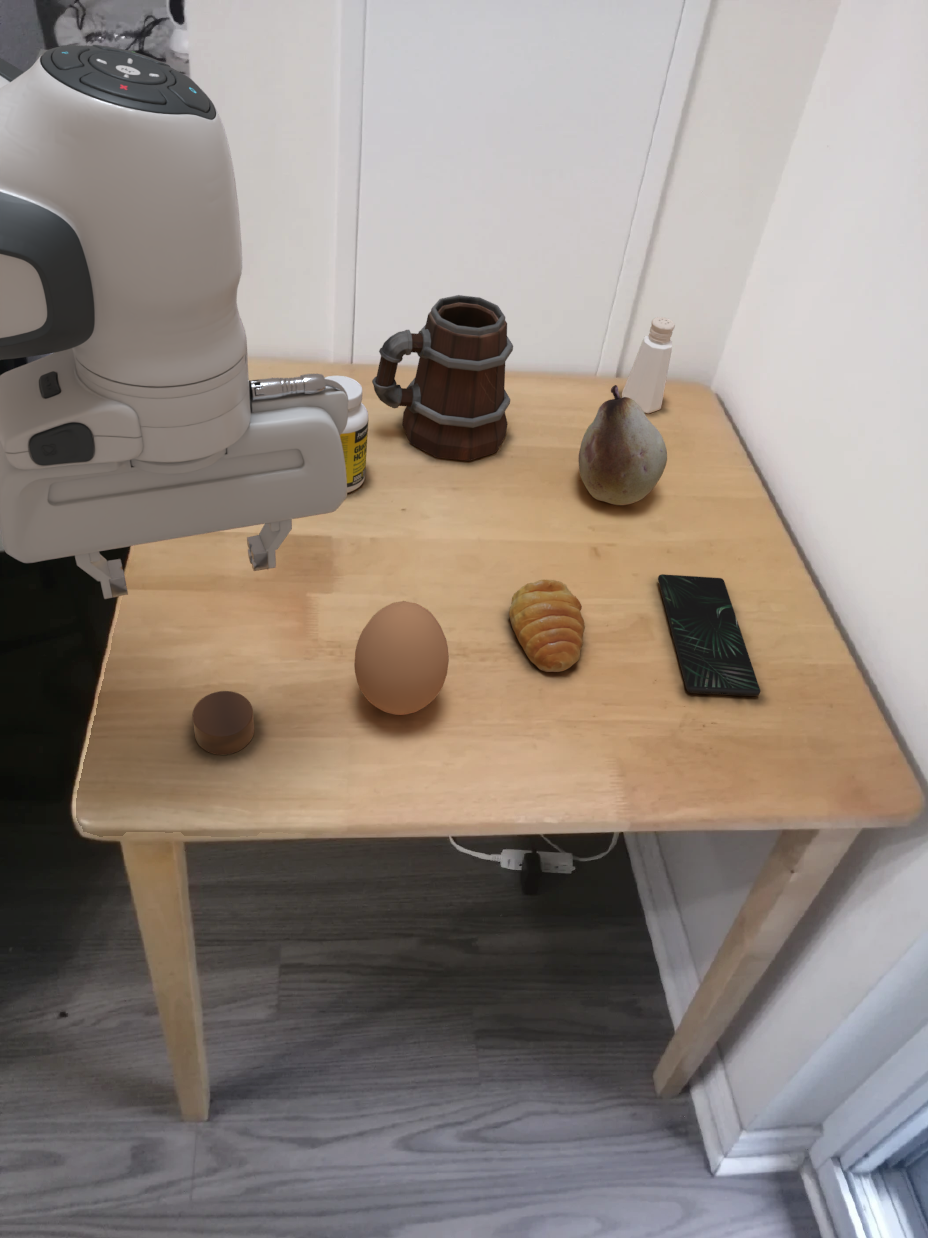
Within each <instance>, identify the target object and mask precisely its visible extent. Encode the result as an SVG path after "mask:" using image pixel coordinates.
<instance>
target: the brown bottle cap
mask: <svg viewBox="0 0 928 1238" xmlns="http://www.w3.org/2000/svg"><path fill="white" fill-rule="evenodd" d="M192 724H193V731H194V732H193V733H194V738H195V742H196V743H197V744H198V746H199V747H200V748H201V749H202V750H204V751H206V752H208V753H210V754H213V755H218V756H225V755H232V754H234V753H237V752H240V751H241V750H243V749H244V748H246V747H247V746H248V745H249V744H250V743H251V741H252V739H253V737H254V734H255V721H254V709H253V705H252V704H251V702H250V701H249V699H247V697H246V696H244V695H242V694H240V693H238V692H236V691H229V690H221V691H214V692H211V693H209V694H206V695H205V696H204V697H202V698H201V699H200V700H199V701H198V702H197V703H196V704H195V706H194V708H193V711H192Z"/></svg>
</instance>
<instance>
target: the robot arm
mask: <svg viewBox="0 0 928 1238" xmlns="http://www.w3.org/2000/svg"><path fill="white" fill-rule="evenodd" d="M231 153H232V152H231V149H230V143H229V141H228V136H227V132H226V129H225V126H224V123H223V121H222V118H221V116H220V113H218V110H217V108H216V106H215V104H214V103H213V101H212V100H211V98H210V96H208V95H207V94H206V93H205V91H204V90H203V89H202V88H201V87H200V86H199V85H198V84H197V83H196V82H195V81H194V80H193V79H192V78H190V77H189V76H187V75H186V74H183V73H182V72H180V71H178V70H177V69H175V68H173V67H171V65H169V64H167V63H165V62H163V61H161V60H158V59H156V58H154V57H150V56H148V55H144V54H142V53H138V52H136V51H133V50H129V49H128V50H127V49H124V48H119V47H115V46H108V45H98V44H92V45H84V44H83V45H77V44H68V45H63V46H57V47H53V48H50V49H48V50H46V51H45V52H43V53H42V54H41V55H40V56H39V57H38V58H37V60H36V61H35V62H34V63H33V65H31V66H30V67H29V68H28V69H27V70H25V71H23V70H22V69H20V68H18V67H17V66H15V65H14V64H11V63H10V62H8V61H7V60H4V59H3V58H2V57H0V361H2V360H3V361H4V360H13V359H21V358H22V359H23V358H29V357H37V356H43V355H44V356H43V357H41V358H39V359H36V360H34V361H31V362H28V363H26V364H22V365H20V366H18V367H15V368H13V369H10V370H8V371H5V372H3V373H2V374H0V538H1V542H2V547H3V549H4V552H5V553H6V554H7V555H9V556H10V557H12V558H13V559H15V560H16V561H18V562H21V563H23V564H33V563H38V562H44V561H50V560H55V559H61V558H67V557H74V558H75V563H76V566H77V567H79V568H80V569H81V570H83V572H85V573H87V575H89V576H90V577H92V578H93V579H94V580H95V581H96V582H100V587H101V590H102V595H103V599H104V600H107V599H112V598H118V597H123V596H127V595H129V591H128V586H127V581H126V576H125V575H126V574H125V571H124V568H123V564H122V560H121V559H122V558H118V559H110V560H107V559H106V558H105V557H104V556H103V555H102V554H101V553H100V552H103V551H104V552H105V551H109V550H116V549H122V548H128V547H133V546H139V545H145V544H153V543H157V542H164V541H170V540H176V539H180V538H182V539H183V538H188V537H193V536H198V535H199V536H201V535H205V534H213V533H219V532H223V531H229V530H235V529H242V528H247V527H253V526H259V525H263V526H262V528H261V529H260V532H259V534H256V535H251V536H247V537H246V543H247V544H246V545H247V547H248V549H247V556H248V559H249V564H251V568H252V571H253V572H257V571H265V570H269V569H276V568H277V557H276V556H277V554H276V551H277V550H279V548H280V546H281V545H282V544H283V542H284V541H285V540H286V538H287V537H288V535H289V534H290V533H291V531H292V529H293V520H296V519H301V518H302V519H303V518H308V517H315V516H321V515H326V514H327V515H328V514H331V513H334V512H336V511H337V510H338V509H339V508H340V507H341V505H342V504H343V503H344V502H345V500H346V499H347V496H348V492H347V478H346V467H345V460H344V453H343V448H342V443H341V439H340V435H341V433H342V432H343V431H344V429H345V427H346V425H347V421H348V396H347V393H346V391H345V389H344V388H343V387H342V386H341V385H340V384H339V383H337V382H335V381H333V380H329V379H325V376H324V374H322V373H305V374H301V375H300V376H294V377H268V378H260V379H251V380H250V377H249V360H248V359H249V358H248V357H249V355H248V338H247V333H246V328H245V325H244V322H243V320H242V318H241V315H240V312H239V308H238V291H239V289H238V288H239V284H240V281H241V277H242V275H243V245H242V230H241V219H240V218H241V217H240V207H239V198H238V190H237V182H236V176H235V169H234V164H233V158H232V154H231ZM45 355H46V356H45ZM326 386H328V387H327V388H326Z"/></svg>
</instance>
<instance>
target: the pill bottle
mask: <svg viewBox="0 0 928 1238" xmlns="http://www.w3.org/2000/svg"><path fill="white" fill-rule="evenodd" d="M324 378H325V379H329V380H333V381H335V382H337V383H339V384H340V385H341V386H342V387H343V388H344V389H345V391H346V393H347V396H348V421H347V425H346V427H345V429H344V431H343V432H342V433H341V435H340V439H341V443H342V448H343V453H344V460H345V467H346V478H347V493H351V492H353V491H355V490H357V489H358V488H360V487H361V486H362V484H364V482H365V478H366V472H367V471H366V470H367V451H368V437H369V436H368V434H369V412H368V408H367V407H366V406H365V404H363V386H362V384H361V383H360V382H358V381H357V380H356V379H354V378H351V377H349V376H346V375H329V376H324ZM327 387H328V386H326V388H327Z"/></svg>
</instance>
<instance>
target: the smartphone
mask: <svg viewBox="0 0 928 1238" xmlns="http://www.w3.org/2000/svg"><path fill="white" fill-rule="evenodd" d="M657 583H658V586H659V589H660V590H659V591H660V593H661V598H662V601H663V605H664V608H665V613H666V616H667V620H668V625H669V627H670V632H671V635H672V639H673V644H674V647H675V652H676V654H677V659H678V662H679V666H680V670H681V673H682V677H683V682H684V685H685V690H686V691H687V693H689V694H703V695H704V694H706V695H727V696H746V697H757V696H759V695H760V694H761V689H760V686H759V685H760V684H759V682H758V679H757V676H756V673H755V671H754V668H753V667H754V666H753V664H752V661H751V658H750V654H749V652H748V648H747V646H746V643H745V640H744V637H743V634H742V630H741V628H740V625H739V622H738V618H737V615H736V613H735V610H734V607H733V603H732V599H731V598H730V594H729V591H728V589H727V586H726V583H725V580H724V579H723V578H721V577H713V576H712V577H711V576H695V575H694V576H693V575H679V574H666V573H665V574H663V573H662V574H659V575H658V577H657Z"/></svg>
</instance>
